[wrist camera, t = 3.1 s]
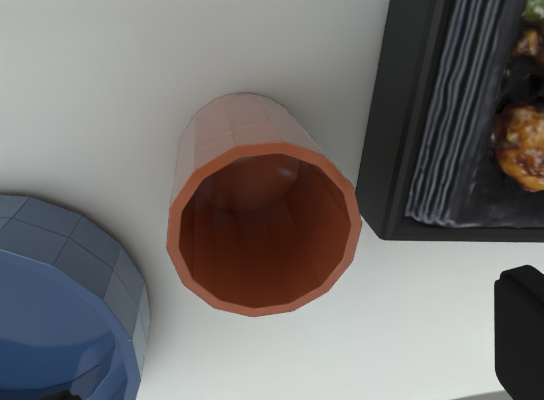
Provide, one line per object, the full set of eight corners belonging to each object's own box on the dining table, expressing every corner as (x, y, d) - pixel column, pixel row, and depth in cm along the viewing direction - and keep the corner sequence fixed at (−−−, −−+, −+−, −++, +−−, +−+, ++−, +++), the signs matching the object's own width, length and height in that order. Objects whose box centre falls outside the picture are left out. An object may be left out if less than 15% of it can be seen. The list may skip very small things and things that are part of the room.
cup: (244, 63, 21) (272, 96, 13) (330, 157, 24) (397, 234, 16) (151, 155, 22) (122, 239, 14) (242, 235, 25) (262, 346, 17)
